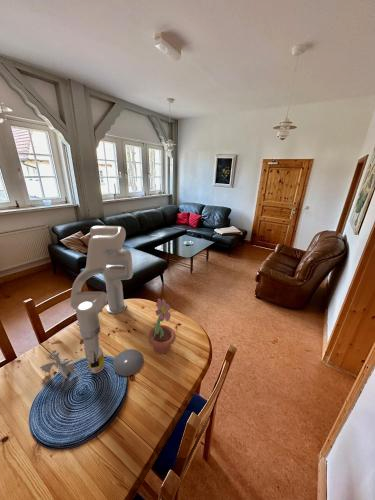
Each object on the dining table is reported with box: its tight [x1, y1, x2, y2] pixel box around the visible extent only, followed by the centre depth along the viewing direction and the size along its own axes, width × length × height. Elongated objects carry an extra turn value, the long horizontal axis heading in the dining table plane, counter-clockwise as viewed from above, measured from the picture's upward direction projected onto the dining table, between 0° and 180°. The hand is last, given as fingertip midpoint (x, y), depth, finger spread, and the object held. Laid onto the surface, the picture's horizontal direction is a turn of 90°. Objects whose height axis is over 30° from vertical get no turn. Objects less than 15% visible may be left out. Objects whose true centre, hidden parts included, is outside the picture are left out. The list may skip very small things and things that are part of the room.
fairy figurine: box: [39, 349, 78, 387], centre depth 88 cm, size 10×18×14 cm, turn 64°
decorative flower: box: [147, 298, 176, 355], centre depth 101 cm, size 15×14×30 cm
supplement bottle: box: [86, 346, 105, 374], centre depth 92 cm, size 7×7×13 cm
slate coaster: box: [112, 348, 144, 377], centre depth 99 cm, size 14×14×1 cm
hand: (95, 359), depth 92 cm, fingers closed on supplement bottle, 6 cm apart
